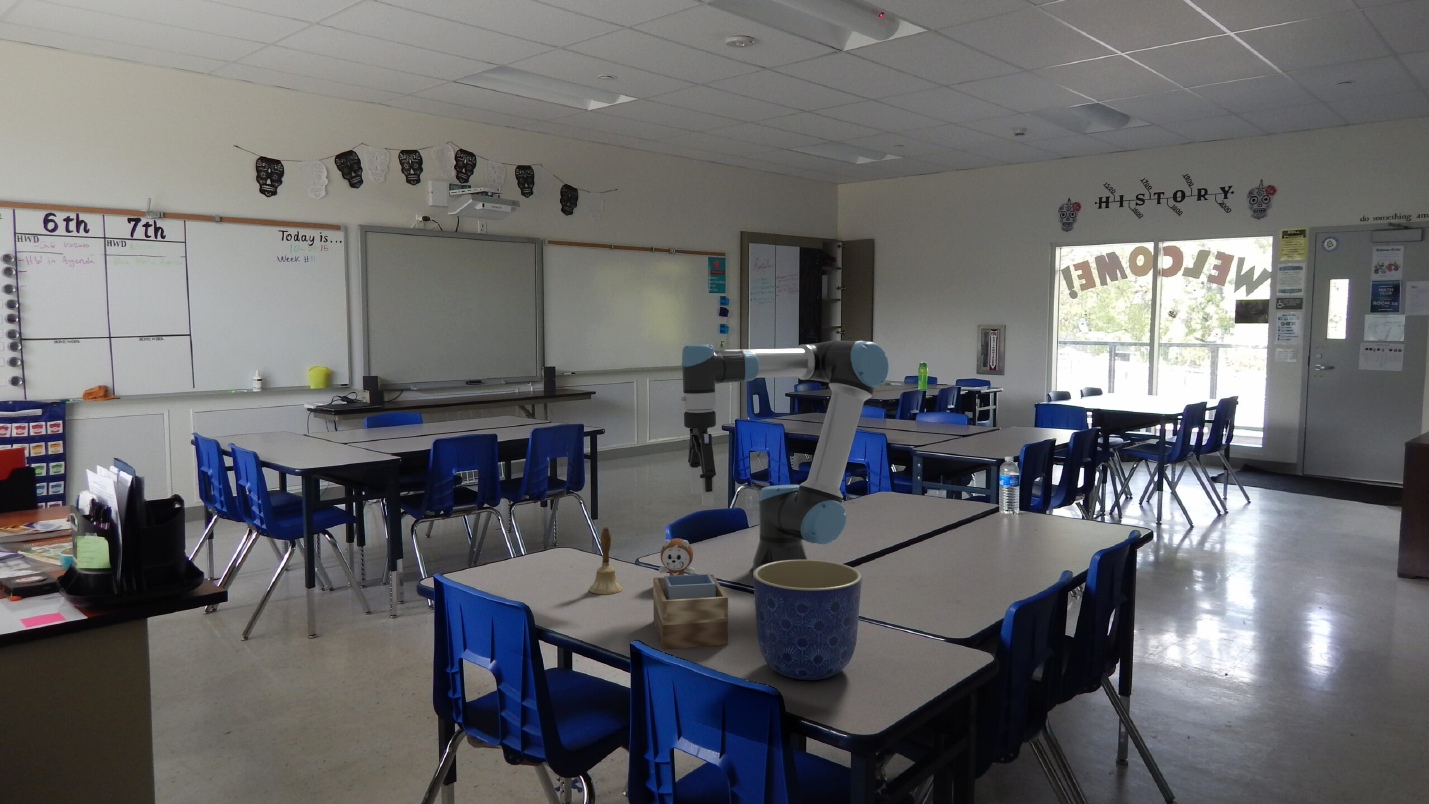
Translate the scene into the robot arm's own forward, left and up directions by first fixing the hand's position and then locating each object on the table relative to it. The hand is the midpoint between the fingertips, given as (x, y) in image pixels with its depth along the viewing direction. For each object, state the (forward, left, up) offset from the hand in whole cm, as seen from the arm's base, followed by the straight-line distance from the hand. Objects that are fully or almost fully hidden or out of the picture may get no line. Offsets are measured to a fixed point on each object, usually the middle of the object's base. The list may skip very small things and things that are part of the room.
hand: (702, 499), depth 211 cm
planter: (-13, +45, -25) cm, 53 cm away
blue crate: (+6, +20, -20) cm, 28 cm away
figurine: (+4, -15, -25) cm, 30 cm away
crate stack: (+6, +20, -25) cm, 33 cm away
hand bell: (+22, -15, -25) cm, 37 cm away
